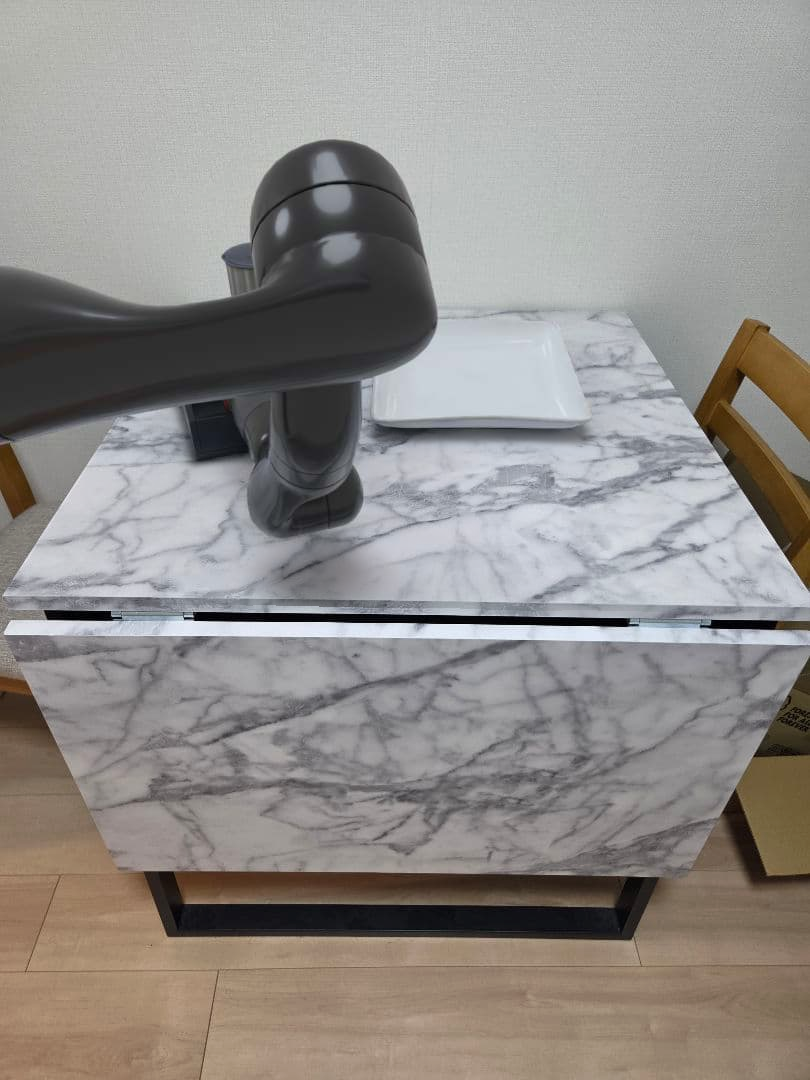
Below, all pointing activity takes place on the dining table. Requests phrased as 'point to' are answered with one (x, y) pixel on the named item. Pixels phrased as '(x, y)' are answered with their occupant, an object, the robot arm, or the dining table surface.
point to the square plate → (484, 379)
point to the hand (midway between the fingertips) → (239, 341)
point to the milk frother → (240, 269)
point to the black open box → (213, 430)
